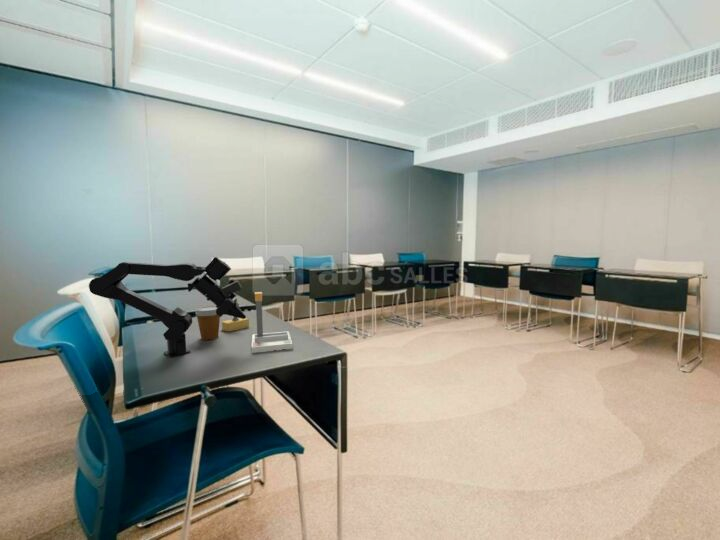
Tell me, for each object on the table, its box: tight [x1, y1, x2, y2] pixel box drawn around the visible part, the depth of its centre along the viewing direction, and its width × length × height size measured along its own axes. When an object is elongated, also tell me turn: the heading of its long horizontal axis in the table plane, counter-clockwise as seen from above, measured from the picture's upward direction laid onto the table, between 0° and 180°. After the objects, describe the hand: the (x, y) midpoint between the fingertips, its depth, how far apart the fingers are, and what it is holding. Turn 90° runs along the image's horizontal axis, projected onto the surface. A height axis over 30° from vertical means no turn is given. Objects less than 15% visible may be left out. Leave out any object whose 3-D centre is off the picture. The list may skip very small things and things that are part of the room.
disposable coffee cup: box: [194, 305, 221, 341], centre depth 133 cm, size 10×10×12 cm
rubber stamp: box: [221, 302, 250, 332], centre depth 146 cm, size 10×6×12 cm, turn 140°
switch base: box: [251, 330, 293, 354], centre depth 125 cm, size 14×16×4 cm
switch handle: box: [254, 291, 264, 337], centre depth 123 cm, size 3×3×18 cm
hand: (245, 317), depth 122 cm, fingers closed
